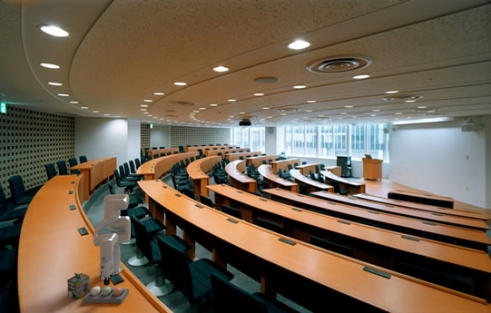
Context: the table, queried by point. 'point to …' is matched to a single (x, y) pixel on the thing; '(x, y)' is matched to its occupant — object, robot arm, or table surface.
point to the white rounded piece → (95, 291)
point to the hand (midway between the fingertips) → (106, 284)
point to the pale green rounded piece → (107, 291)
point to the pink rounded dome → (117, 291)
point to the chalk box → (78, 286)
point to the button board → (104, 299)
